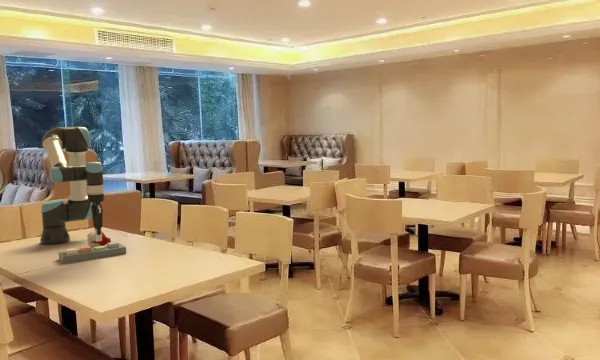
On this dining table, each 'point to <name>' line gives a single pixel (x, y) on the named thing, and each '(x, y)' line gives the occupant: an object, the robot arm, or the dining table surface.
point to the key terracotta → (85, 249)
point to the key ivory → (71, 251)
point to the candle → (93, 242)
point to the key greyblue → (112, 245)
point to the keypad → (91, 254)
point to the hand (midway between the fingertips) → (98, 240)
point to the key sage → (99, 248)
